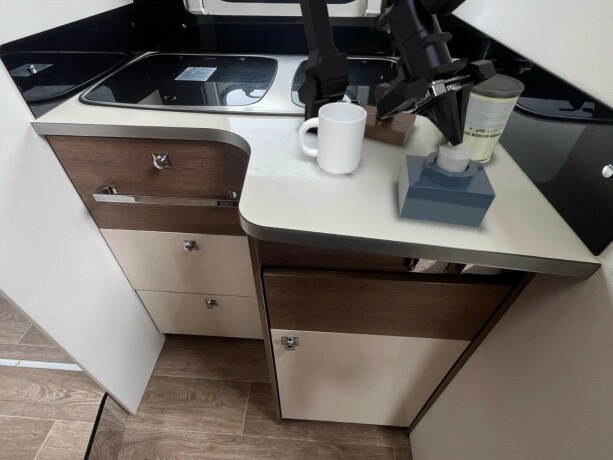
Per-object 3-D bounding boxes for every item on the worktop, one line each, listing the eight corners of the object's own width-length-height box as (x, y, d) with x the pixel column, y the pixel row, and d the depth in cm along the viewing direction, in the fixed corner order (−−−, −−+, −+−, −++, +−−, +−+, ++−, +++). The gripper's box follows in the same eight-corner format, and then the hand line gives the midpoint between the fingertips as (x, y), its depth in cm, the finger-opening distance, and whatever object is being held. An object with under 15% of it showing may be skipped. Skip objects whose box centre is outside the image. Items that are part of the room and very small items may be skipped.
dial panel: (349, 133, 71) (351, 119, 69) (364, 116, 77) (366, 104, 75) (402, 146, 67) (405, 132, 65) (413, 127, 73) (416, 114, 71)
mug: (296, 174, 58) (296, 120, 51) (297, 151, 64) (298, 101, 57) (361, 176, 58) (369, 123, 51) (356, 153, 64) (364, 102, 57)
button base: (399, 217, 50) (412, 174, 45) (397, 185, 57) (408, 144, 51) (478, 227, 49) (501, 184, 43) (467, 193, 55) (486, 152, 50)
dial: (390, 123, 68) (395, 100, 65) (373, 119, 69) (376, 96, 66) (395, 116, 71) (400, 94, 67) (378, 112, 72) (382, 90, 69)
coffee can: (428, 143, 68) (450, 73, 58) (468, 137, 70) (495, 69, 61) (459, 168, 61) (489, 94, 51) (502, 161, 63) (539, 88, 54)
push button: (437, 171, 46) (442, 157, 44) (433, 156, 49) (438, 142, 48) (468, 174, 46) (474, 160, 44) (463, 159, 49) (468, 145, 47)
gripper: (421, 63, 55) (452, 147, 56) (337, 82, 48) (375, 179, 49) (479, 18, 45) (515, 121, 46) (384, 32, 37) (431, 156, 38)
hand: (458, 144), depth 45 cm, fingers closed
